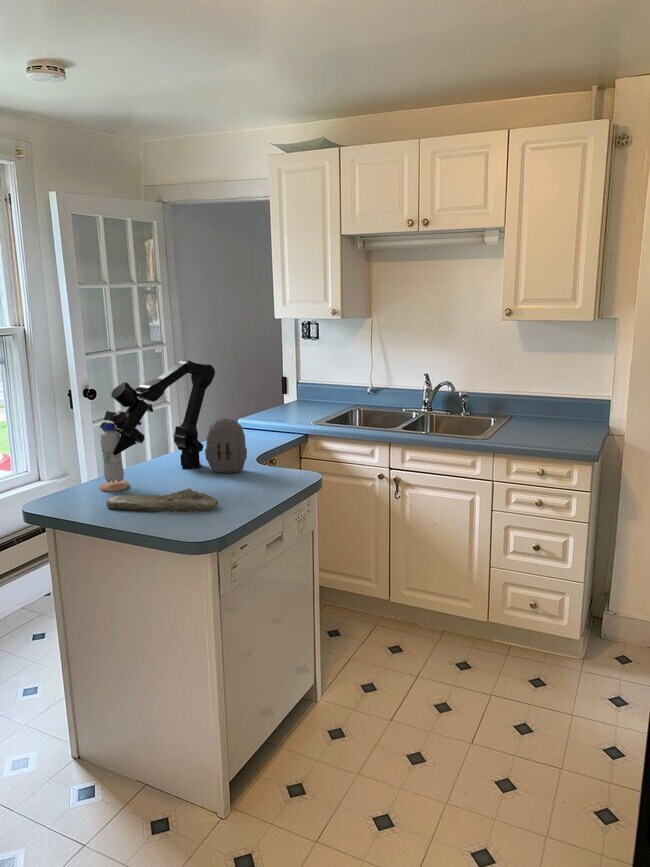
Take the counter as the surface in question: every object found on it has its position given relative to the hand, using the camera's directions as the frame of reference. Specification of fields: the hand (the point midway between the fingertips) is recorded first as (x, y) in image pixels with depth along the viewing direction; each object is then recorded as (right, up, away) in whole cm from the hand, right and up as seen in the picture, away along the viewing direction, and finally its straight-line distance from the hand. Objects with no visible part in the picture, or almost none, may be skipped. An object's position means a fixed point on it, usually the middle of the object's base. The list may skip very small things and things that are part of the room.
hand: (108, 453), depth 225 cm
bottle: (+1, -10, +3) cm, 10 cm away
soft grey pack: (+37, -8, +20) cm, 42 cm away
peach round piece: (+1, -12, +4) cm, 12 cm away
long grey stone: (+22, -17, -17) cm, 33 cm away
